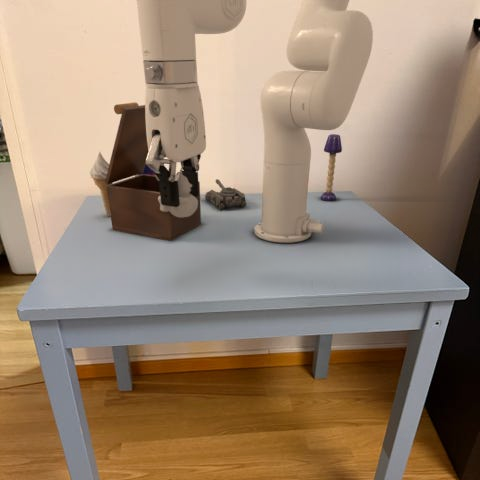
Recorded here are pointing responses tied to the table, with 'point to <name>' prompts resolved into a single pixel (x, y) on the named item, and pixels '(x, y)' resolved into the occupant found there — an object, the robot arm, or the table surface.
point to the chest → (146, 210)
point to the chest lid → (129, 143)
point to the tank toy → (225, 197)
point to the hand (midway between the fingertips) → (180, 199)
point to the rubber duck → (182, 198)
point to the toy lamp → (331, 164)
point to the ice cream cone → (101, 179)
